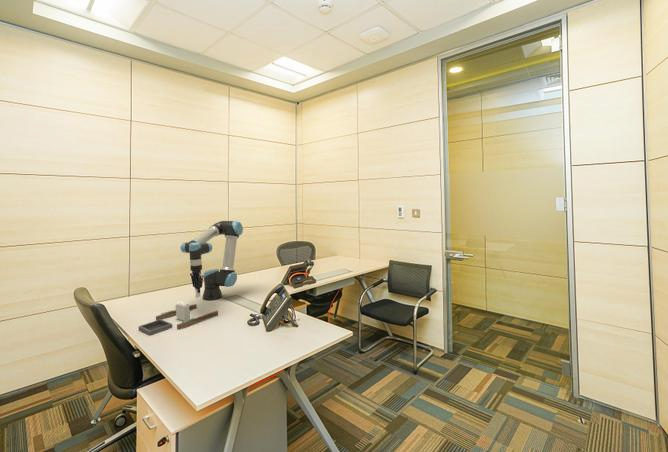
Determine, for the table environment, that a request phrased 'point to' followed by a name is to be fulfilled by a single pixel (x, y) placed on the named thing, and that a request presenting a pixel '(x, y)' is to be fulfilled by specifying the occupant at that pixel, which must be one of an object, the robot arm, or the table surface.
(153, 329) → the tray
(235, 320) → the table surface
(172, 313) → the brown parallel rails
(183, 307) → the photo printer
